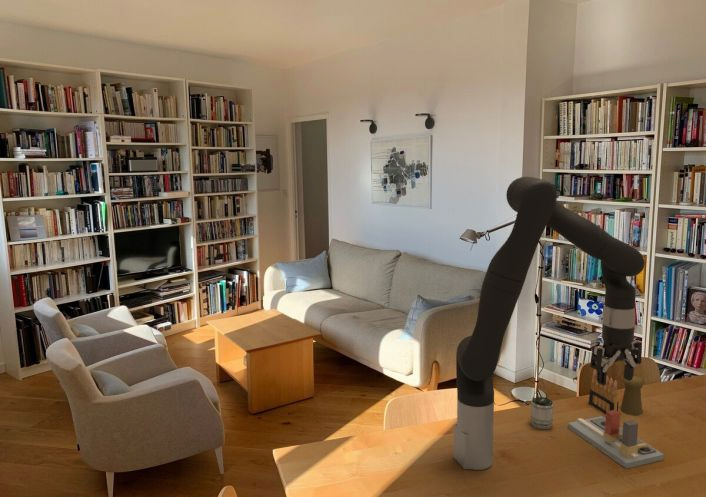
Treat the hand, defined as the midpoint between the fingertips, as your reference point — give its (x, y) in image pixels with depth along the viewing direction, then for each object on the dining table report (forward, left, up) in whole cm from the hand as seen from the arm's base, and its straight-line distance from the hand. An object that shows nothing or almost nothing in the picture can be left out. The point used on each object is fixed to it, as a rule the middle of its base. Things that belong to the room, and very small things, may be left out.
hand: (614, 381), depth 142 cm
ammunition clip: (+13, +18, -19) cm, 30 cm away
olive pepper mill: (+21, +15, -19) cm, 33 cm away
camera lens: (-10, +17, -19) cm, 27 cm away
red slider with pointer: (+2, 0, -17) cm, 17 cm away
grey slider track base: (+2, +2, -19) cm, 19 cm away
